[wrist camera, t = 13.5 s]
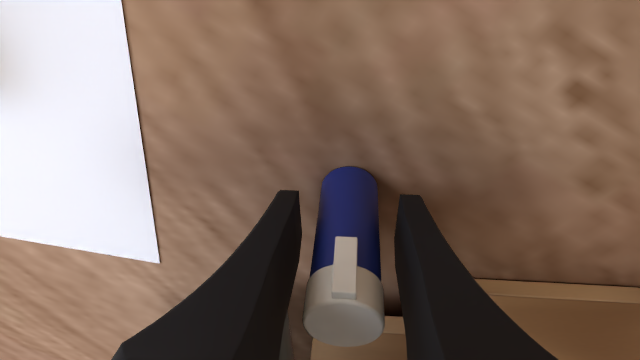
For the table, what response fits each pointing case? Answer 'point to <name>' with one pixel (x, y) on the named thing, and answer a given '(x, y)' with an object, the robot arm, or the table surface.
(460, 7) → the table surface
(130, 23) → the table surface
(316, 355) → the drawer
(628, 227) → the table surface
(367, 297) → the pen
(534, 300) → the cabinet
